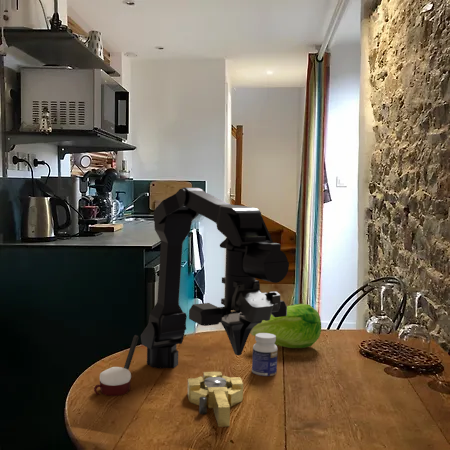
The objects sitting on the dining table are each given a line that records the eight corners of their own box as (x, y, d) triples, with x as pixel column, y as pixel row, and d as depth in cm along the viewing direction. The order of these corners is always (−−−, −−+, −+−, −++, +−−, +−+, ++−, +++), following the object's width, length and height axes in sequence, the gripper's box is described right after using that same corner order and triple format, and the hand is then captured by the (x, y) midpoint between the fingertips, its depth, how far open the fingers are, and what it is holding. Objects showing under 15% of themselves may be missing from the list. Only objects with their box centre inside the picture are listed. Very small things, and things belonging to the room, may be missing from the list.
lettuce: (241, 342, 150) (242, 300, 149) (308, 339, 155) (309, 298, 154) (257, 358, 136) (258, 312, 135) (329, 354, 141) (330, 309, 141)
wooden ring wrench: (186, 387, 112) (186, 371, 112) (237, 385, 113) (237, 369, 113) (193, 427, 93) (193, 408, 93) (253, 425, 95) (254, 406, 94)
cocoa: (94, 406, 105) (92, 348, 104) (93, 393, 111) (91, 338, 110) (142, 400, 108) (141, 343, 106) (139, 387, 114) (137, 333, 112)
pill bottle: (275, 383, 119) (276, 339, 119) (250, 380, 120) (251, 337, 120) (277, 374, 125) (279, 332, 124) (253, 372, 126) (254, 330, 125)
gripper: (217, 285, 89) (214, 376, 90) (306, 278, 98) (302, 360, 99) (188, 274, 98) (186, 356, 100) (272, 268, 108) (269, 344, 109)
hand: (237, 354), depth 102 cm, fingers closed
